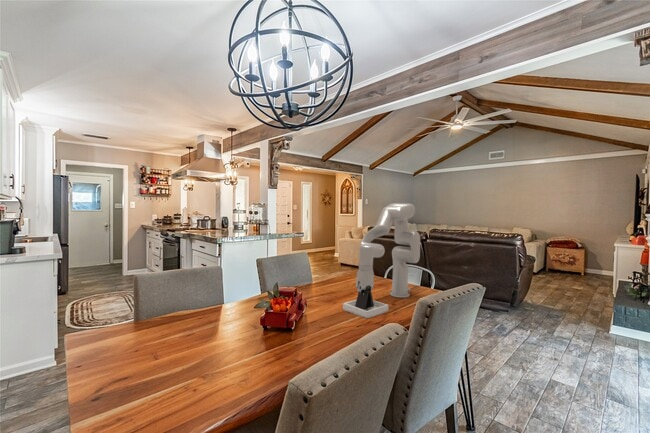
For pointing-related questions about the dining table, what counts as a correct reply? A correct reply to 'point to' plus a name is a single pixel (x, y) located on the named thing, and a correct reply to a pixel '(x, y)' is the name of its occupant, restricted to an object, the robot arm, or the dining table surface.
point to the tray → (366, 313)
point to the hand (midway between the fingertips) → (364, 301)
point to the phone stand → (364, 299)
